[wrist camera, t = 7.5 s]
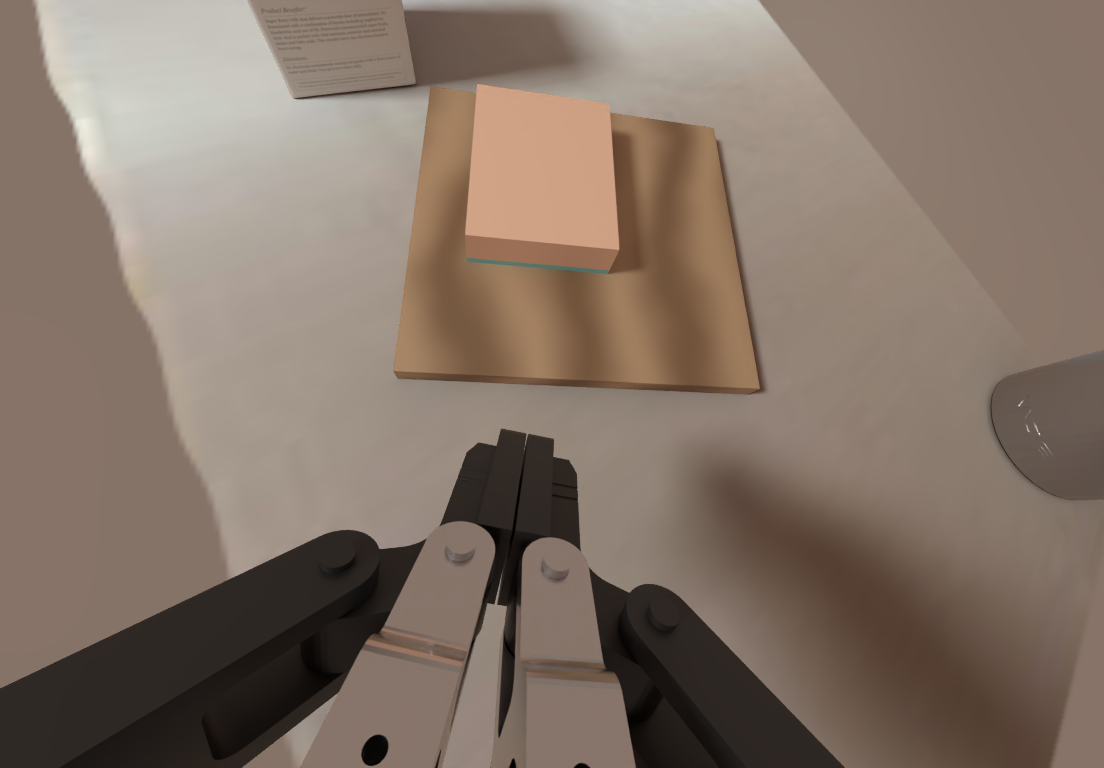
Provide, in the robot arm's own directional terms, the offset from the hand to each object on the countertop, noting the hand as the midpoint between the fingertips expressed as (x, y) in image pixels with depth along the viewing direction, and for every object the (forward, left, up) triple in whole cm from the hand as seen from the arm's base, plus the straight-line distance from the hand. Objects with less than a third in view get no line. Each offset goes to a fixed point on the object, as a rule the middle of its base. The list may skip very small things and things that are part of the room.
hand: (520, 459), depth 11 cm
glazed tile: (-2, -14, -9) cm, 16 cm away
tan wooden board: (-5, -17, -12) cm, 21 cm away
